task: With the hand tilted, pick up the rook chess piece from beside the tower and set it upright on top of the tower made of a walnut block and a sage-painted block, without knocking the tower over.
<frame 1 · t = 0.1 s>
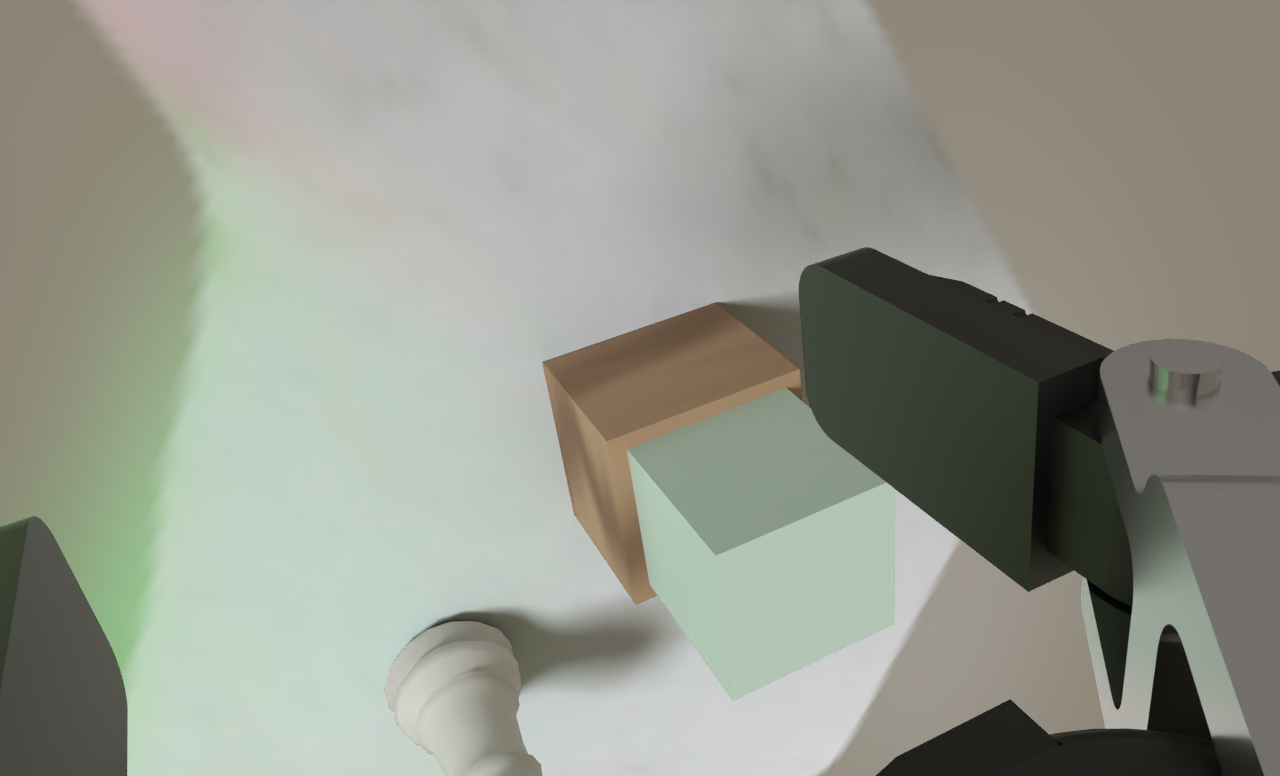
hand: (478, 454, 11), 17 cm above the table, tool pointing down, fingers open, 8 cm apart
sage top block: (716, 488, 30), point 5 cm above the table, touching walnut base block
walnut base block: (642, 409, 34), on the table, touching sage top block
rook chess piece: (445, 661, 35), on the table
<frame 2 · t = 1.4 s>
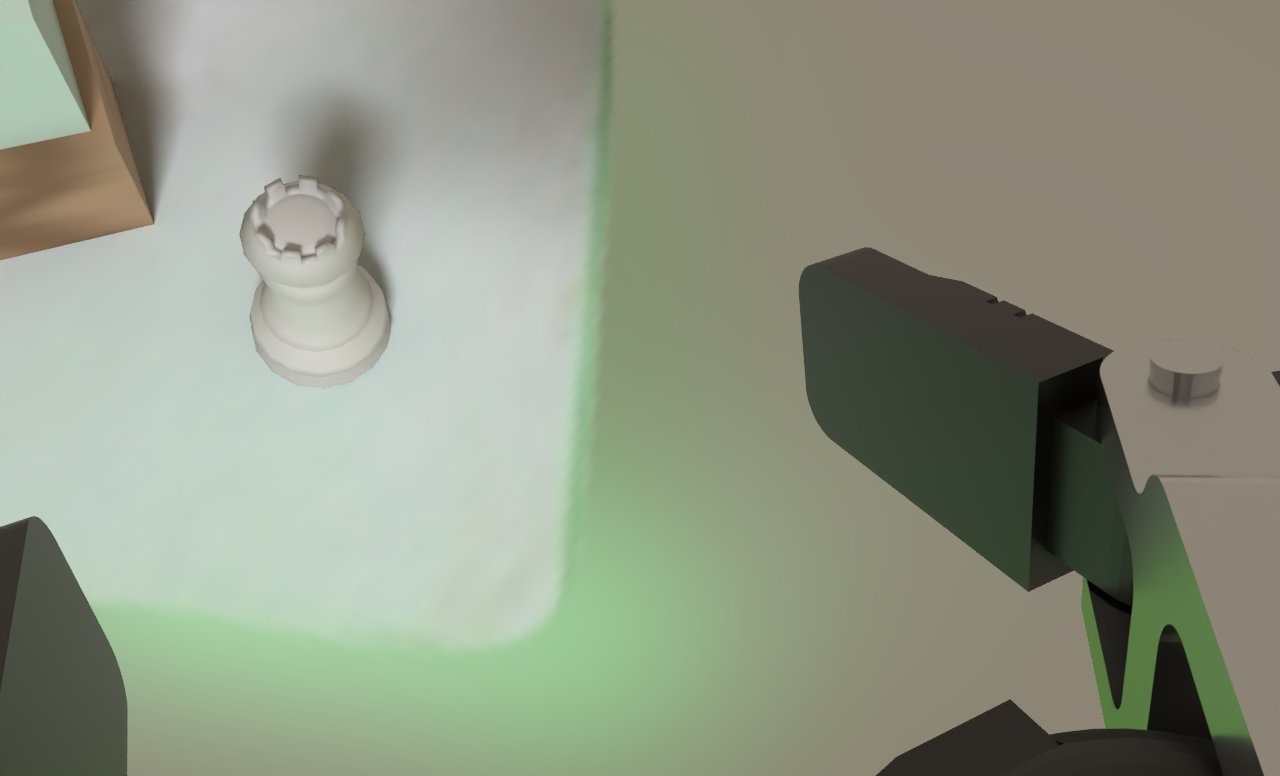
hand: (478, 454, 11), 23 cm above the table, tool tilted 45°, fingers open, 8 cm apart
walnut base block: (38, 170, 35), on the table
rook chess piece: (323, 333, 35), on the table
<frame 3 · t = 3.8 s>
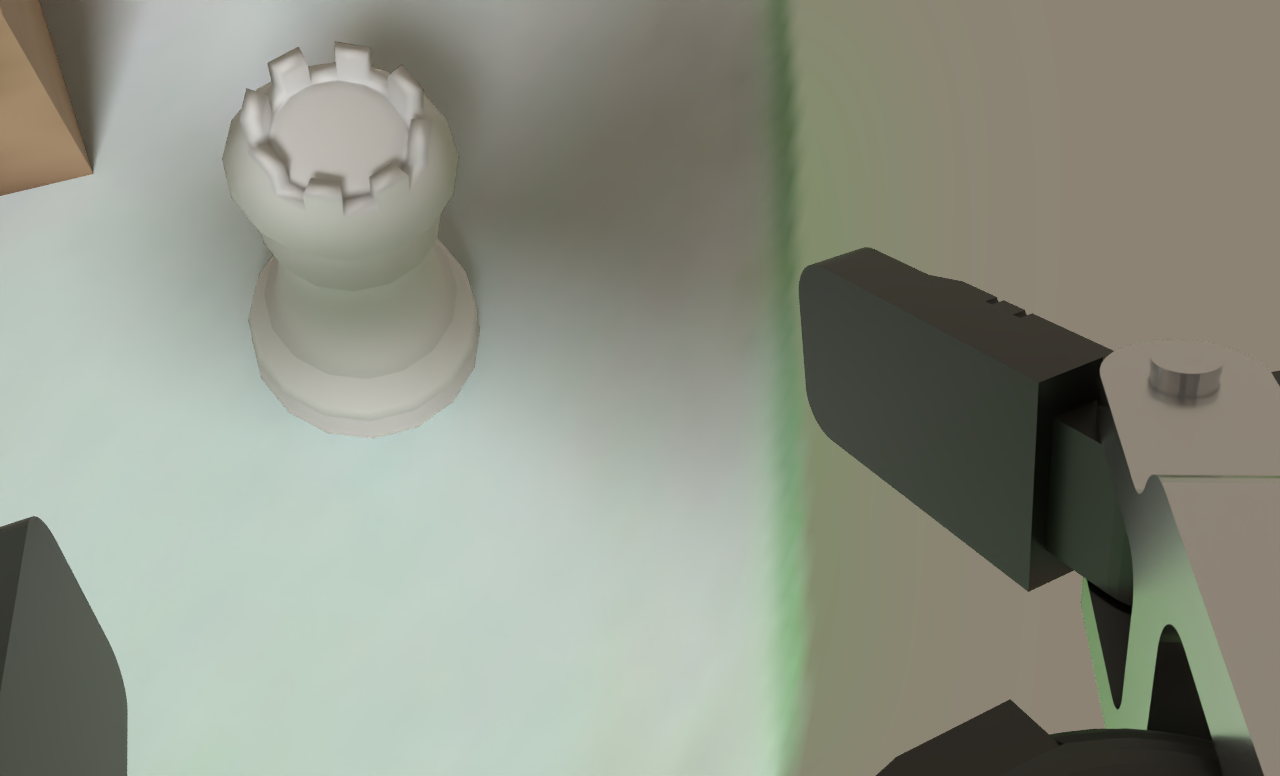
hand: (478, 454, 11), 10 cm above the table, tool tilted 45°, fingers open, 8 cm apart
rook chess piece: (370, 345, 22), on the table
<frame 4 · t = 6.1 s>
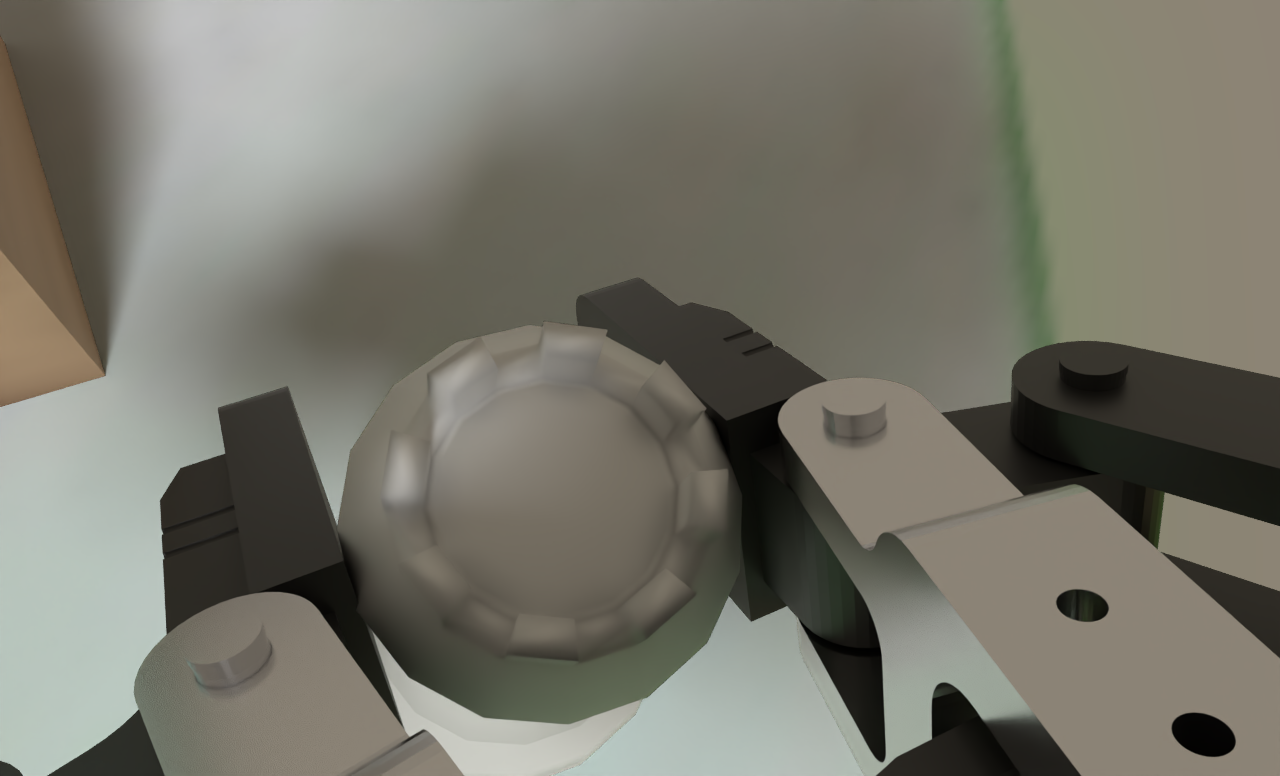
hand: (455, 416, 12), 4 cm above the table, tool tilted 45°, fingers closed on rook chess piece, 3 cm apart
rook chess piece: (501, 623, 15), on the table, touching gripper
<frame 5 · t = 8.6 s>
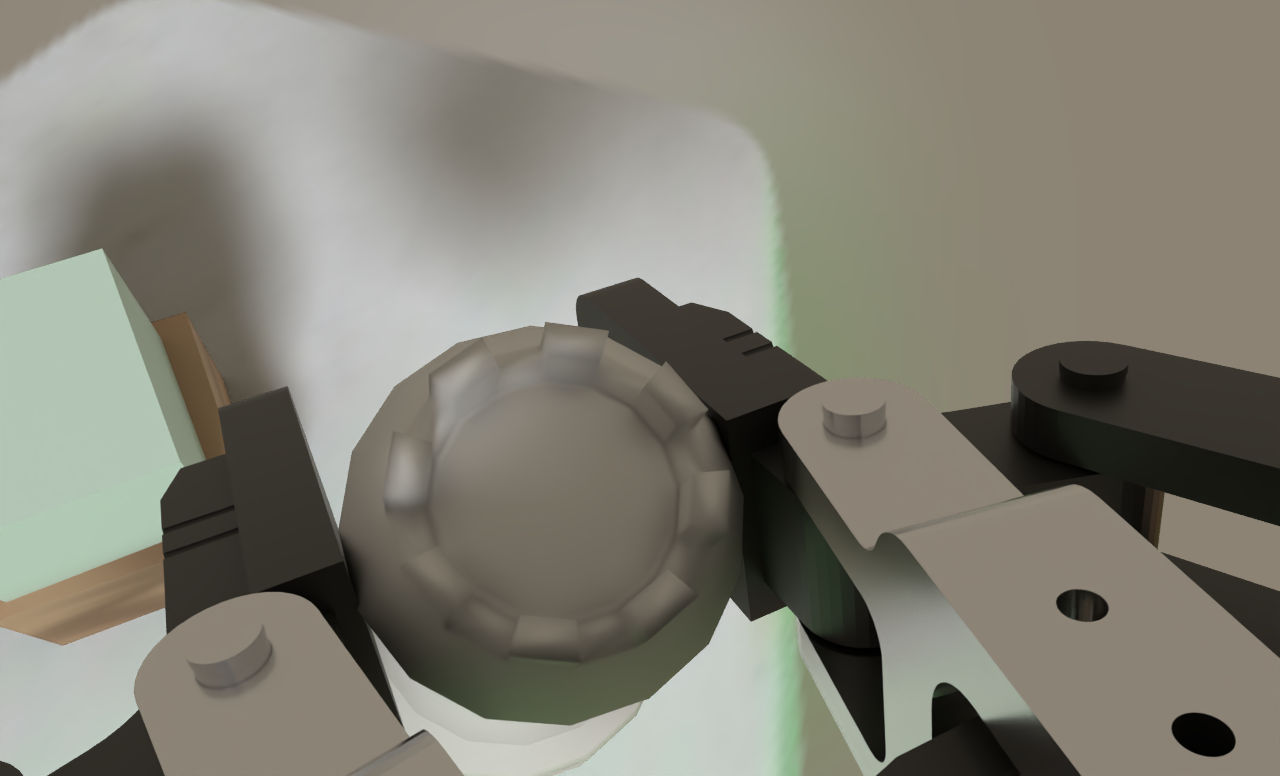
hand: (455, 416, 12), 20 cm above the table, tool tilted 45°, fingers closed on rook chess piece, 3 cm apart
sage top block: (87, 463, 25), point 5 cm above the table, touching walnut base block
walnut base block: (147, 504, 30), on the table, touching sage top block
rook chess piece: (501, 623, 15), point 15 cm above the table, touching gripper
when the fingers open (15 cm above the table, at t = 10.9 s): rook chess piece drops 1 cm, resting on sage top block.
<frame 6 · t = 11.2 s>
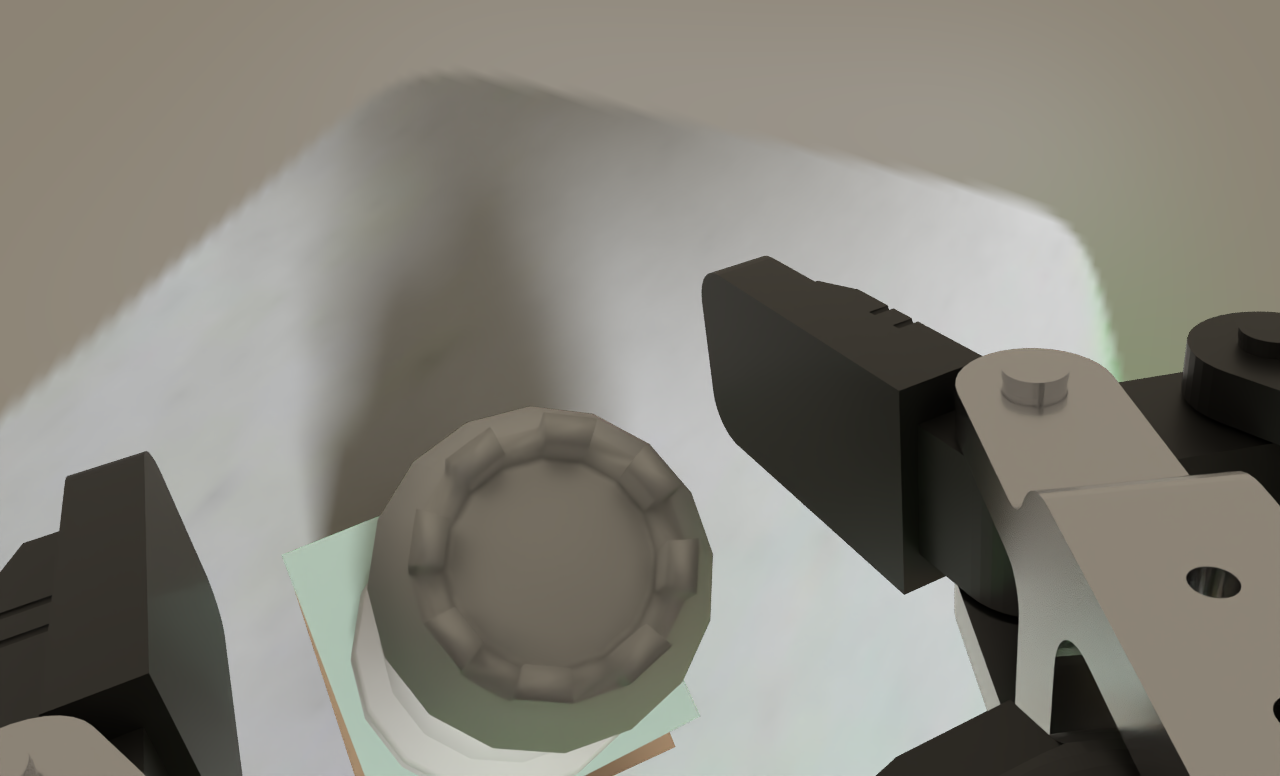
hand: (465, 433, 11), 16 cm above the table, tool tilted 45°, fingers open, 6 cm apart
sage top block: (479, 664, 21), point 5 cm above the table, touching rook chess piece, walnut base block
walnut base block: (475, 682, 26), on the table, touching sage top block
rook chess piece: (498, 647, 16), point 10 cm above the table, touching sage top block
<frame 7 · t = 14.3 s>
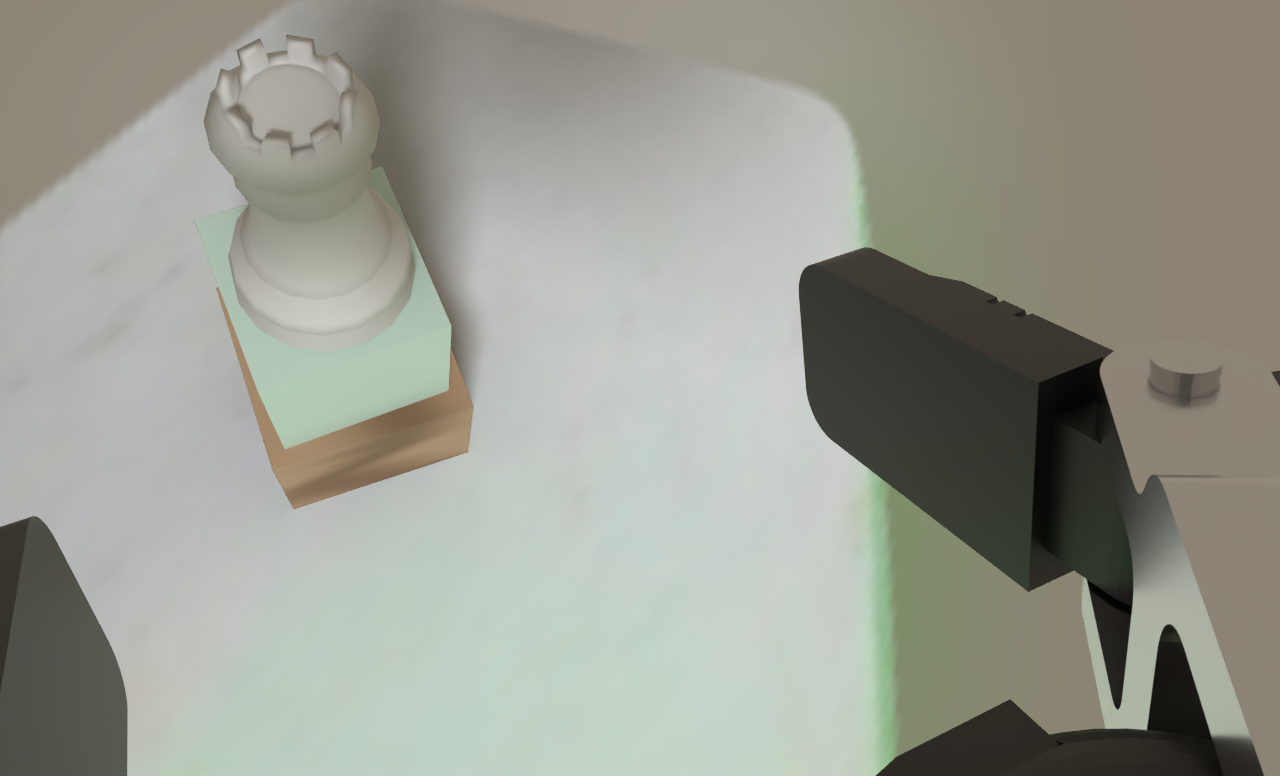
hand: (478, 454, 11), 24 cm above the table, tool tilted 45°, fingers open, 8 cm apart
sage top block: (339, 345, 31), point 5 cm above the table, touching rook chess piece, walnut base block
walnut base block: (356, 401, 36), on the table, touching sage top block
rook chess piece: (327, 281, 27), point 10 cm above the table, touching sage top block
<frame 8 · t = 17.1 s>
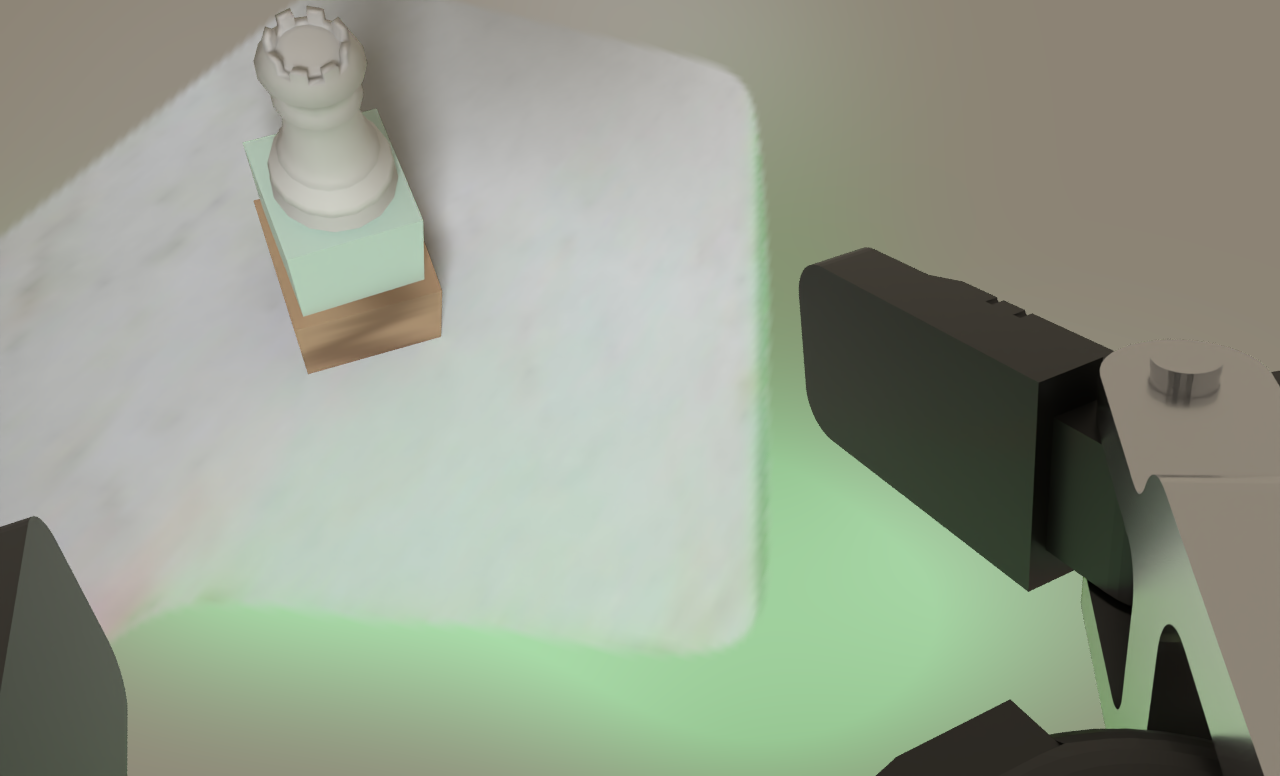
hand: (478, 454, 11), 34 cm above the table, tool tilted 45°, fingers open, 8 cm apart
sage top block: (344, 245, 42), point 5 cm above the table, touching rook chess piece, walnut base block
walnut base block: (356, 296, 47), on the table, touching sage top block
rook chess piece: (336, 186, 38), point 10 cm above the table, touching sage top block
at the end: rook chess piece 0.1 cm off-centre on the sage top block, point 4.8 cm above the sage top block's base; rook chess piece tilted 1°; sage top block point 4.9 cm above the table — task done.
